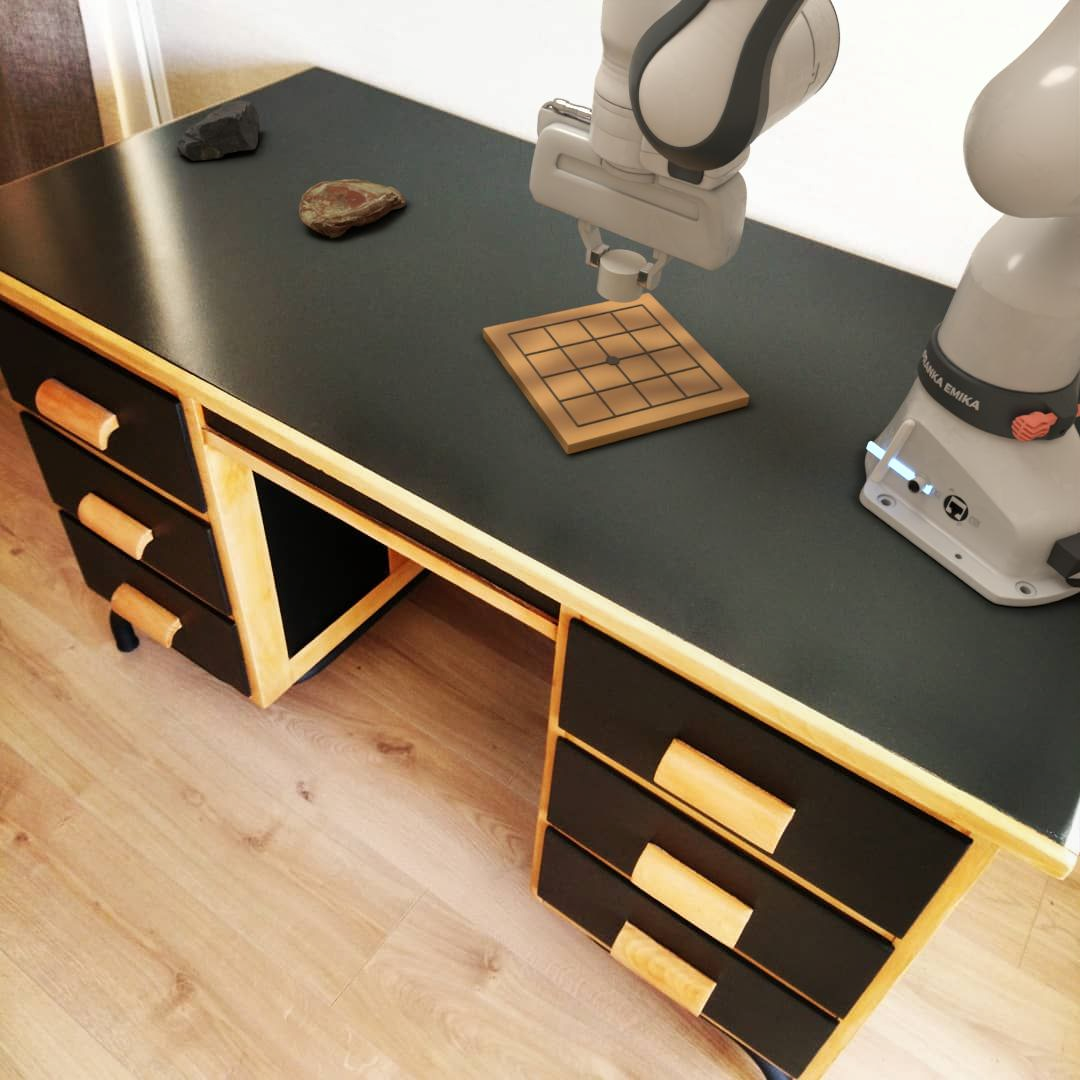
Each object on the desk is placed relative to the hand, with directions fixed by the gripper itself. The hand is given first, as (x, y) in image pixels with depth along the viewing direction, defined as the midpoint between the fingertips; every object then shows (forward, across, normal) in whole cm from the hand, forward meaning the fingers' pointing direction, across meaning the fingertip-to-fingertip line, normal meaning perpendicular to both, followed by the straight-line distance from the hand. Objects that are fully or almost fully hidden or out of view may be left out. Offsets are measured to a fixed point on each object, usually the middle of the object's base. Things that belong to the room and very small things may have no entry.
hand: (622, 275), depth 88 cm
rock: (+12, -67, +10) cm, 68 cm away
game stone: (+2, 0, 0) cm, 2 cm away
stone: (+12, -42, +7) cm, 44 cm away
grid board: (+11, 0, 0) cm, 11 cm away
